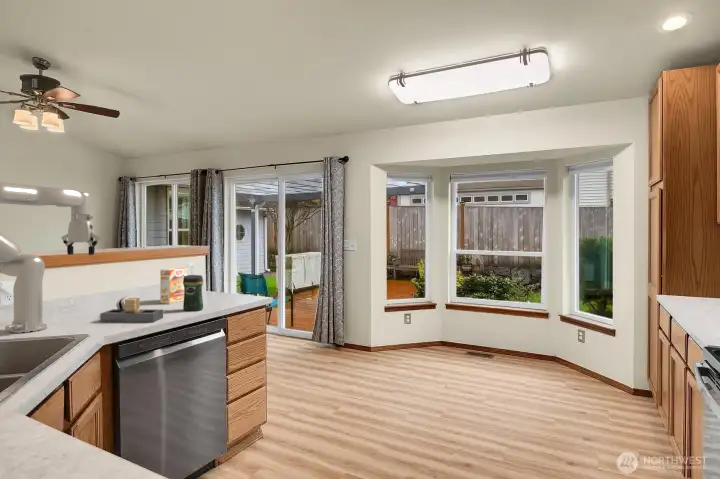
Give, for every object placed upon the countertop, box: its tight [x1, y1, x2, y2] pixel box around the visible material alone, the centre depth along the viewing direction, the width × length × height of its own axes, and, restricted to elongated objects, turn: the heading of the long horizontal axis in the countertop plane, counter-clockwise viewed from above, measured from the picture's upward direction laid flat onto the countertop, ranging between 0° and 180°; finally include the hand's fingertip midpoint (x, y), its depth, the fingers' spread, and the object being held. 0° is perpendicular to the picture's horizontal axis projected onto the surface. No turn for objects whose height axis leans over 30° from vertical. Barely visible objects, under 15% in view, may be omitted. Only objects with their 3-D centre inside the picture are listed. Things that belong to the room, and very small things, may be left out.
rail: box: [99, 308, 164, 323], centre depth 197 cm, size 10×24×4 cm, turn 91°
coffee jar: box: [182, 274, 204, 312], centre depth 222 cm, size 10×8×19 cm
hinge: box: [115, 295, 144, 309], centre depth 211 cm, size 17×5×10 cm, turn 8°
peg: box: [125, 297, 141, 313], centre depth 197 cm, size 4×4×10 cm
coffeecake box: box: [159, 267, 189, 305], centre depth 246 cm, size 15×7×20 cm, turn 162°
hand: (81, 254), depth 198 cm, fingers open, 9 cm apart
